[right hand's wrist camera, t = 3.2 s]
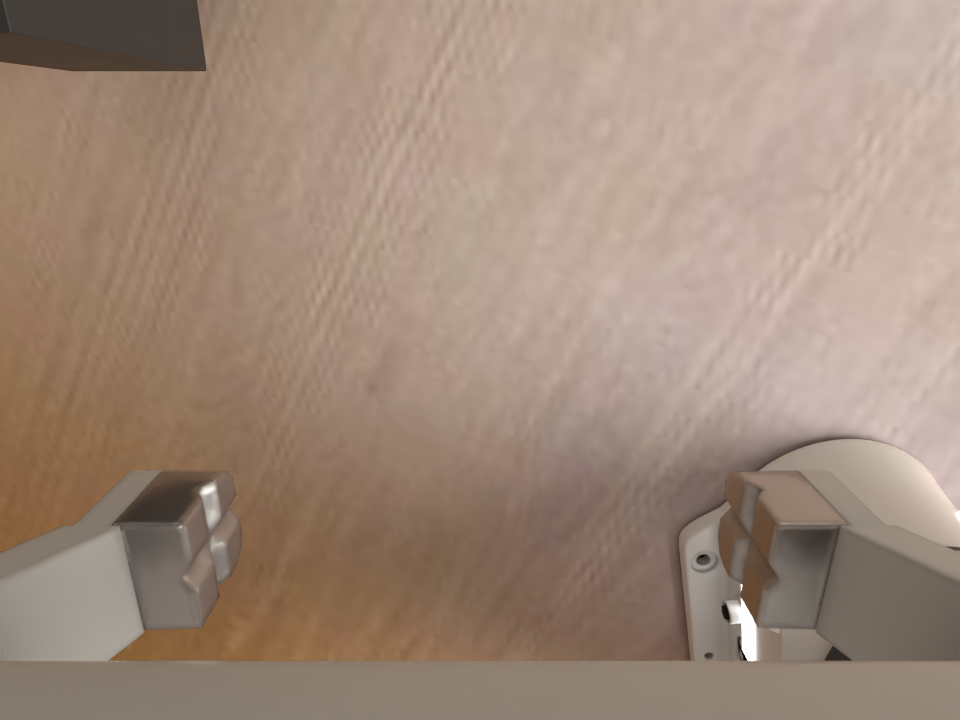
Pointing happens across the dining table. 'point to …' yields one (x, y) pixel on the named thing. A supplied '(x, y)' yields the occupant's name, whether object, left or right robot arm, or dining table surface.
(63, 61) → the box
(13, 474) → the dining table surface
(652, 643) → the dining table surface
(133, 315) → the dining table surface
